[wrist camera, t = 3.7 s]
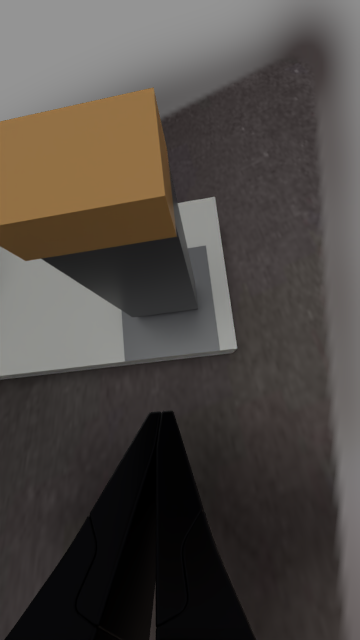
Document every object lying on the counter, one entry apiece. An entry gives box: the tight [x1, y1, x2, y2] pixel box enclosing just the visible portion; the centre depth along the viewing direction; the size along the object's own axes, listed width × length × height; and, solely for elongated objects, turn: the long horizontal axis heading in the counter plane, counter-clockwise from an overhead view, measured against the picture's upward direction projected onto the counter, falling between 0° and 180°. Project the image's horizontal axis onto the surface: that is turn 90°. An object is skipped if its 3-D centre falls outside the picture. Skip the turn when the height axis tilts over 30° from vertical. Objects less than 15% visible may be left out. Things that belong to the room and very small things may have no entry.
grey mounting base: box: [0, 197, 237, 380], centre depth 18 cm, size 9×20×4 cm, turn 96°
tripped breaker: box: [0, 88, 198, 317], centre depth 10 cm, size 2×4×10 cm, turn 96°
